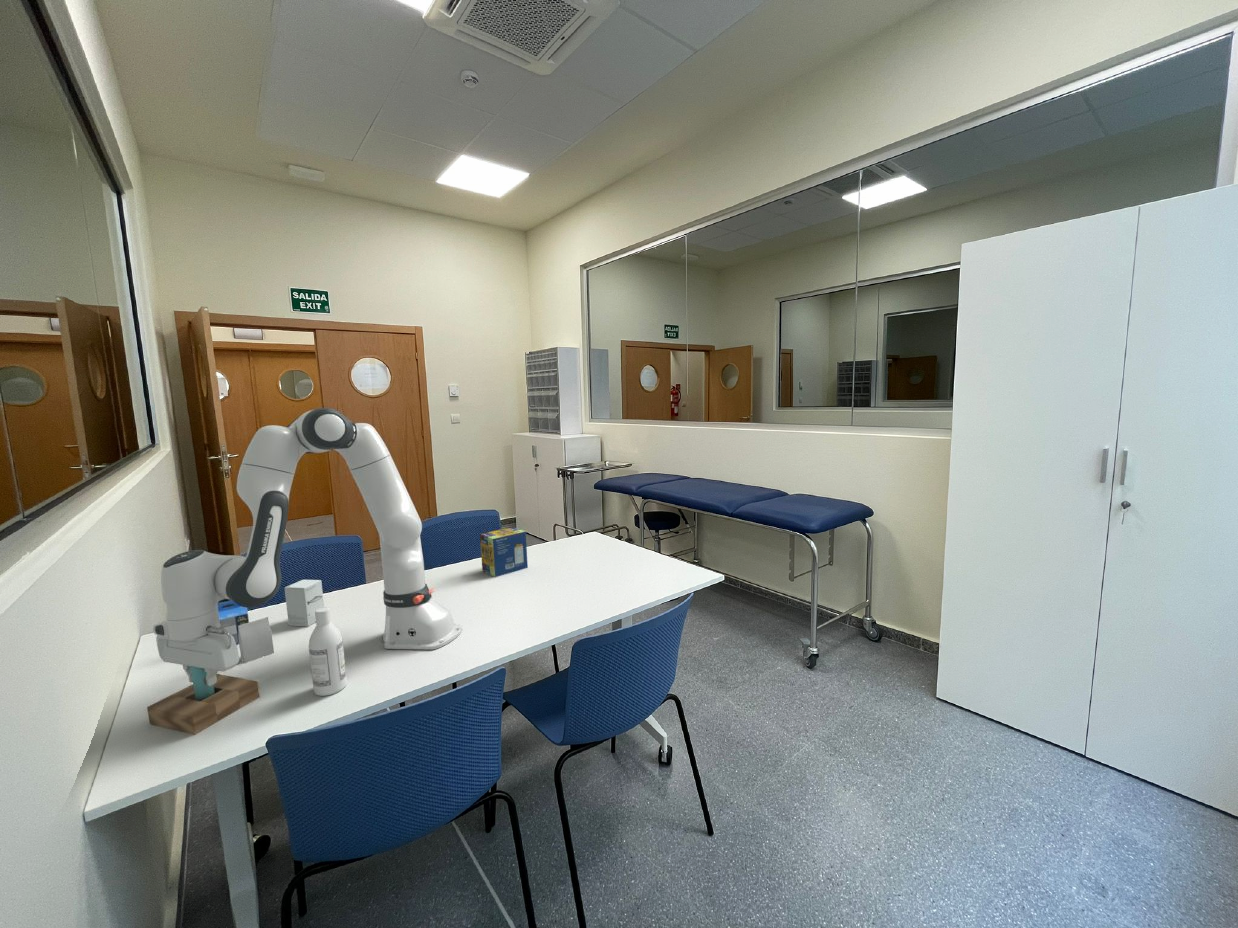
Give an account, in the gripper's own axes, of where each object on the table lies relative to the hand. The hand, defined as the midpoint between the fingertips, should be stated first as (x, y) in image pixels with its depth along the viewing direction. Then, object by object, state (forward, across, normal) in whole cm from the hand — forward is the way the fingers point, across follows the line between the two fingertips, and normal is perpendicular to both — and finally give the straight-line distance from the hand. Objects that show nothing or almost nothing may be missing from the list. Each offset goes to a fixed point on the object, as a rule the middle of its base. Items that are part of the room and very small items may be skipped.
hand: (203, 682), depth 114 cm
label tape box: (+7, +28, -26) cm, 39 cm away
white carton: (+7, +13, -22) cm, 26 cm away
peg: (+6, 0, 0) cm, 6 cm away
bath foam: (+7, -21, -14) cm, 26 cm away
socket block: (+7, 0, 0) cm, 7 cm away
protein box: (+7, -19, -101) cm, 103 cm away
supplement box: (+7, +19, -43) cm, 47 cm away
